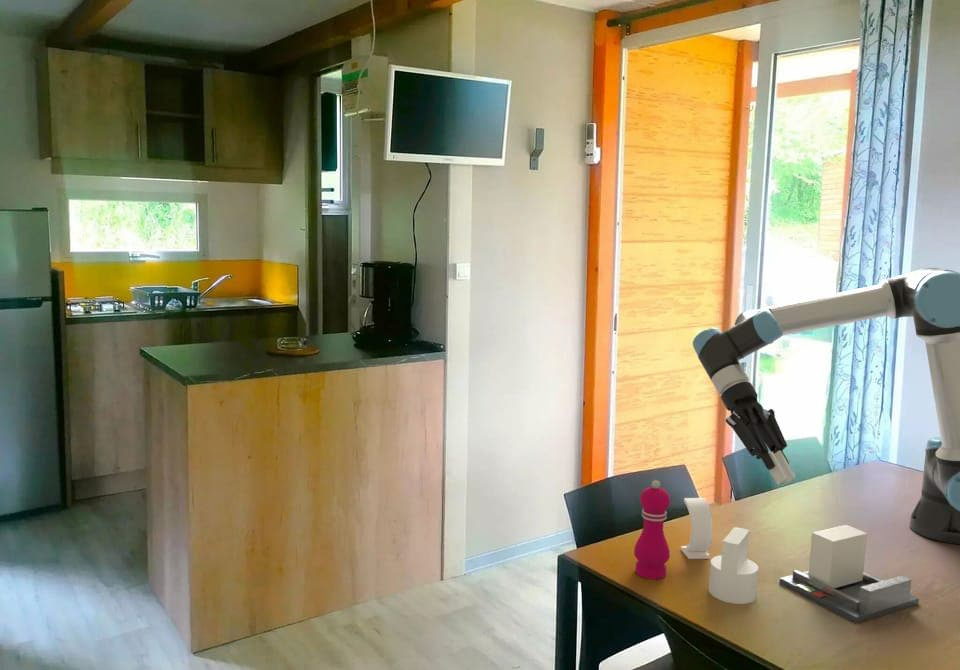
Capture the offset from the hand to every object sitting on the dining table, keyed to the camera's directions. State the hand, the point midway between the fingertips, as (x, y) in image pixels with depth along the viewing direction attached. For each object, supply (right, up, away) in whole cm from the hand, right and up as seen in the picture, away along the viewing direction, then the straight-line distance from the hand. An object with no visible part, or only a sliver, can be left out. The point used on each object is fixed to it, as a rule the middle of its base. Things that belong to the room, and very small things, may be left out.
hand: (786, 480), depth 173 cm
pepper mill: (-30, -18, -5) cm, 36 cm away
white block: (+6, -18, -10) cm, 21 cm away
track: (+7, -20, -12) cm, 25 cm away
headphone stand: (-18, -17, +4) cm, 26 cm away
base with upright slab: (-16, -20, -13) cm, 29 cm away
